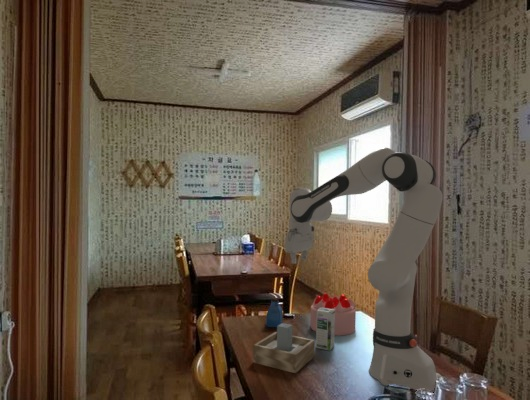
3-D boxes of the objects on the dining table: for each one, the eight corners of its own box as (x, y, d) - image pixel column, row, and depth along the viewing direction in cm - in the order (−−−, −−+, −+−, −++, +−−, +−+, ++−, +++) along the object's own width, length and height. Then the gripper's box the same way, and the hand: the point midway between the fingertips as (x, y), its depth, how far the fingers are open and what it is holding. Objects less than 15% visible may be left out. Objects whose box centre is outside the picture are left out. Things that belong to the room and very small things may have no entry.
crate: (314, 356, 140) (314, 340, 140) (295, 373, 126) (295, 354, 126) (274, 347, 148) (275, 331, 148) (253, 362, 134) (253, 344, 134)
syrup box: (315, 348, 149) (316, 310, 149) (320, 343, 154) (321, 306, 154) (329, 351, 146) (330, 312, 146) (334, 346, 151) (335, 308, 151)
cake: (308, 321, 183) (309, 290, 183) (351, 322, 182) (352, 292, 182) (312, 335, 163) (312, 301, 163) (360, 337, 162) (361, 302, 162)
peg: (291, 358, 138) (292, 324, 138) (286, 362, 134) (287, 328, 135) (281, 356, 140) (282, 323, 140) (276, 360, 136) (277, 326, 136)
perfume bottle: (280, 327, 172) (280, 300, 172) (266, 326, 173) (266, 299, 173) (282, 323, 178) (282, 297, 178) (269, 322, 179) (269, 296, 179)
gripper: (296, 229, 148) (295, 266, 148) (316, 227, 166) (315, 259, 166) (281, 228, 151) (280, 264, 151) (302, 226, 169) (302, 258, 169)
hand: (299, 262), depth 159 cm, fingers open, 8 cm apart
